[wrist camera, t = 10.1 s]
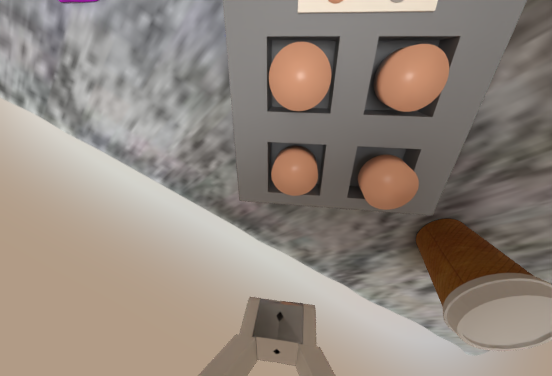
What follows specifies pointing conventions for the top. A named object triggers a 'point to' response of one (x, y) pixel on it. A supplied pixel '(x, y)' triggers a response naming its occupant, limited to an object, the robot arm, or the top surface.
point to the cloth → (76, 0)
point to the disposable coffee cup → (484, 289)
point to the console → (359, 91)
